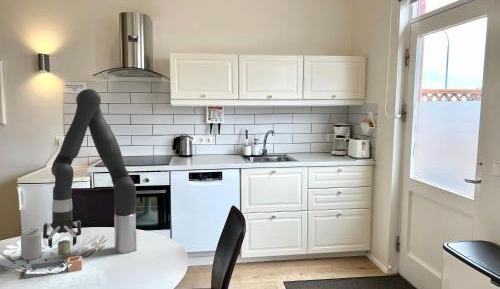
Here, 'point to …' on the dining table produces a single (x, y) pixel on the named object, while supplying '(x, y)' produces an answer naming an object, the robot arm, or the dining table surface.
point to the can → (31, 244)
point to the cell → (63, 249)
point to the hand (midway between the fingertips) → (62, 246)
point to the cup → (75, 263)
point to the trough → (45, 264)
